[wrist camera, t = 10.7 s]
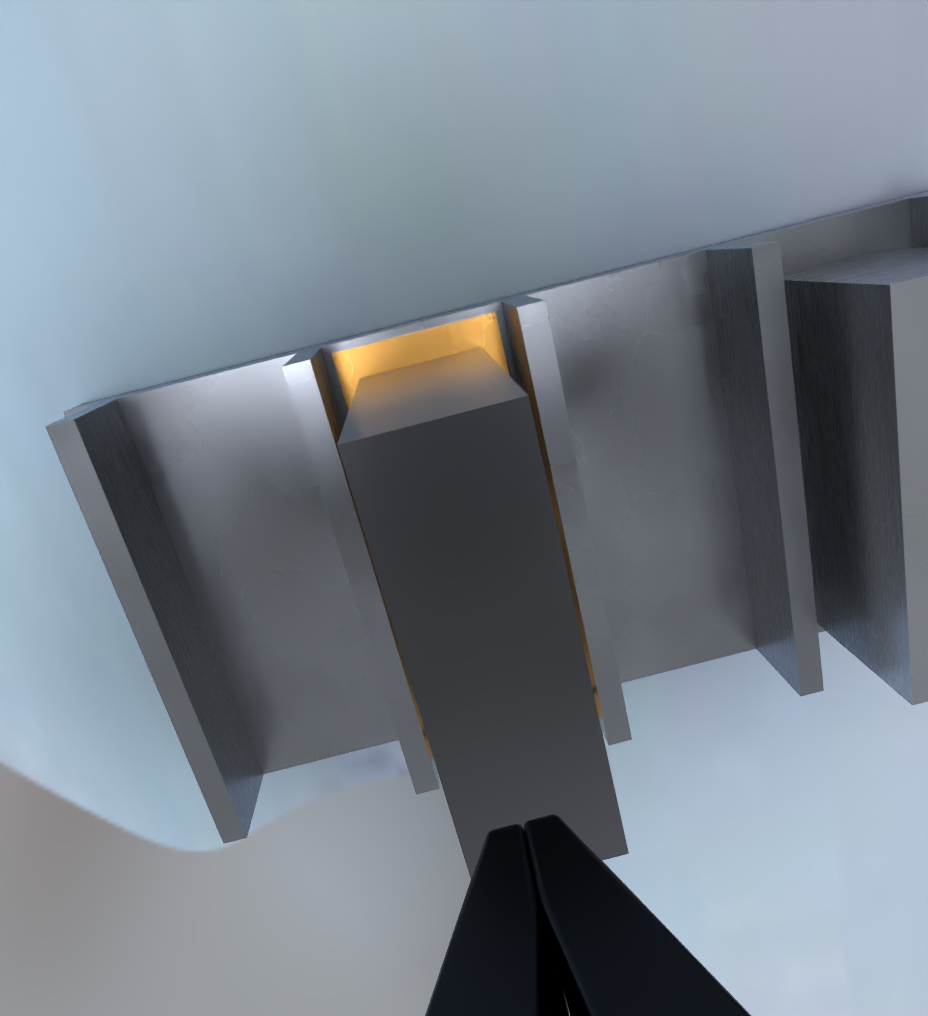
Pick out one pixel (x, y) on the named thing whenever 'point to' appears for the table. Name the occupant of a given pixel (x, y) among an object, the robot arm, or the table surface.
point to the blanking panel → (480, 597)
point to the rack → (572, 485)
